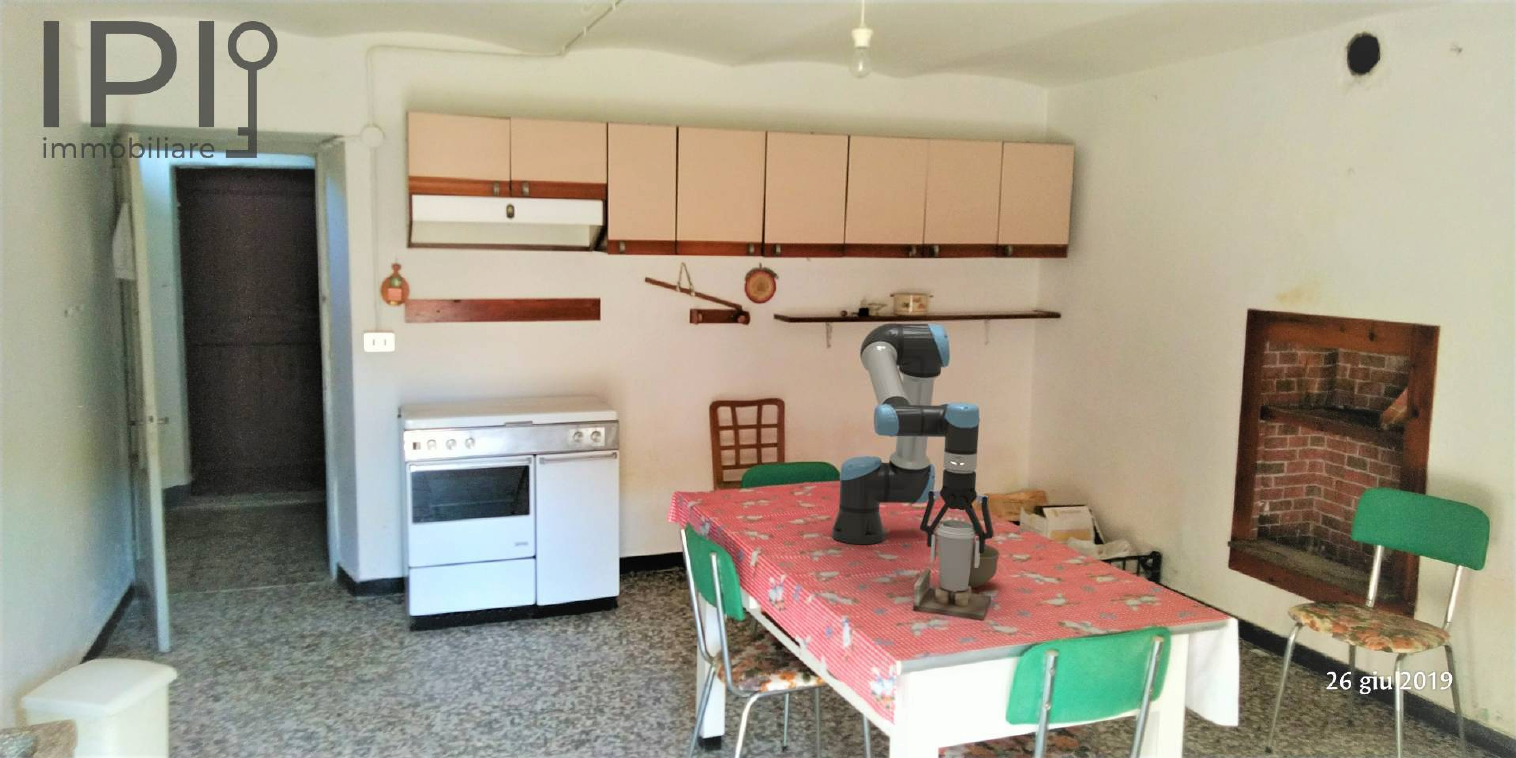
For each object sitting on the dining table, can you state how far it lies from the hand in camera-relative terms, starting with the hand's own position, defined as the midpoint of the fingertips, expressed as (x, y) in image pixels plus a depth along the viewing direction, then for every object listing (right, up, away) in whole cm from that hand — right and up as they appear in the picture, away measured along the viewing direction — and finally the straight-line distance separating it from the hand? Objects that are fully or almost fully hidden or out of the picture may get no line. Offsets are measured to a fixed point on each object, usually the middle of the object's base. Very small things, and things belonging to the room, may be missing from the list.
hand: (954, 563), depth 238 cm
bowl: (+7, -9, +16) cm, 20 cm away
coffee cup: (0, -6, +1) cm, 6 cm away
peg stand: (0, -10, +1) cm, 10 cm away
